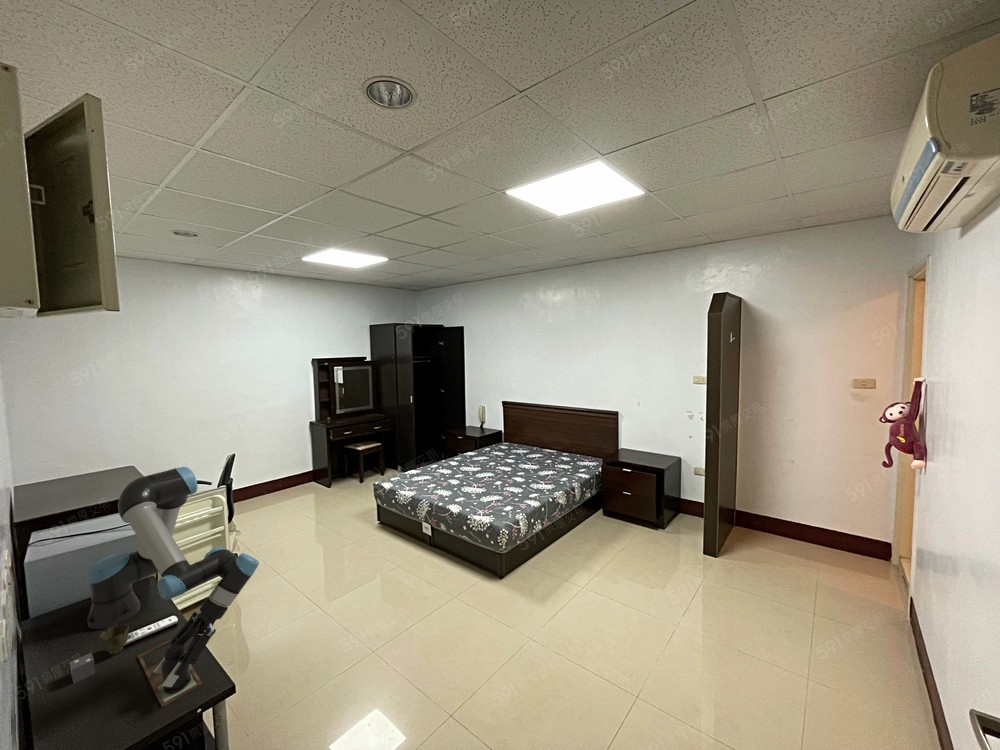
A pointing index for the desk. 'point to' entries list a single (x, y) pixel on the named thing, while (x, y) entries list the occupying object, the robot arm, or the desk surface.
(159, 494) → the robot arm
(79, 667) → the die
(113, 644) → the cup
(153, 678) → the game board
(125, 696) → the desk surface
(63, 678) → the desk surface
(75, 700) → the desk surface
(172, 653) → the supplement bottle
